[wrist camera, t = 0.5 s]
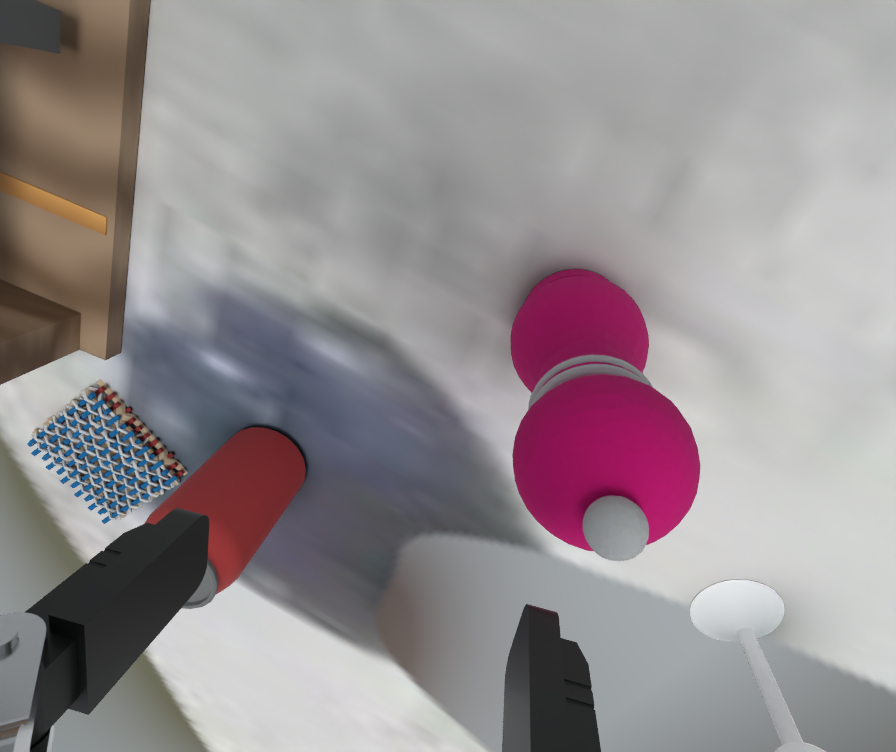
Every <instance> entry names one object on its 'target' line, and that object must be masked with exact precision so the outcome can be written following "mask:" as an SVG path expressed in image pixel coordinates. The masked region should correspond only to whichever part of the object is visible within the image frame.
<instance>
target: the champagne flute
mask: <svg viewBox="0 0 896 752" xmlns="http://www.w3.org/2000/svg"><path fill="white" fill-rule="evenodd" d="M784 613H785V609H784V604H783V601H782V599H781V597H780V596H779V595H778V594H777V593H776V592H775V591H774V590H773V589H771V588H770V587H768V586H766V585H764V584H761V583H758V582H754V581H749V580H728V581H723V582H719V583H716V584H714V585H711V586H709V587H707V588H706V589H704V590H703V591H701V592H700V593H699V594H698V595H697V596H696V597H695V599H694V600H693V602H692V604H691V608H690V617H691V620H692V622H693V624H694V625H695V627H696V628H697V629H698V630H699V631H701V632H702V633H703V634H705V635H707V636H708V637H710V638H713V639H716V640H720V641H725V642H740V643H741V646H742V648H743V650H744V653H745V655H746V658H747V660H748V663H749V665H750V667H751V670H752V672H753V675H754V677H755V680H756V682H757V684H758V687H759V689H760V692H761V694H762V697H763V699H764V701H765V704H766V706H767V709H768V711H769V714H770V716H771V719H772V721H773V723H774V726H775V728H776V730H777V733H778V735H779V738H780V740H781V743H782V746H780V747H779V748H777V749H776V750H775V752H826V751H824V750H822V749H820V748H818V747H816V746H814V745H811V744H808V743H804V742H803V740H802V738H801V736H800V734H799V731H798V729H797V727H796V725H795V723H794V720H793V718H792V716H791V714H790V711H789V709H788V707H787V705H786V702H785V700H784V698H783V696H782V694H781V691H780V689H779V687H778V684H777V682H776V680H775V678H774V675H773V673H772V671H771V669H770V667H769V664H768V662H767V660H766V658H765V655H764V653H763V651H762V649H761V647H760V644H759V642H758V640H757V639H758V638H761V637H763V636H765V635H767V634H769V633H771V632H772V631H773V630H775V629H776V628H777V626H778V625H779V624H780V623H781V621H782V619H783V617H784Z"/></svg>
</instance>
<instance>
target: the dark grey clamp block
mask: <svg viewBox="0 0 896 752" xmlns="http://www.w3.org/2000/svg"><path fill="white" fill-rule="evenodd" d="M60 40H61V11H60V10H57V9H55V8H53V7H50V6H48V5H46V4H43V3H41V2H39V1H36V0H0V42H1V43H6V44H11V45H16V46H22V47H27V48H32V49H37V50H42V51H47V52H52V53H57V54H60Z"/></svg>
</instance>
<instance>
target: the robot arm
mask: <svg viewBox="0 0 896 752" xmlns="http://www.w3.org/2000/svg"><path fill="white" fill-rule="evenodd" d="M209 524H210V523H209V518H208V516H206V515H203V514H199V513H196V512H192V511H188V510H185V509H181V508H175V509H173V510H172V511H171V512H169V513H168V514H167V515H166V516H165V517H163V518H162V519H161V520H160V521H159V522H158V523H156V524H155V525H154V524H151V523H146V524H143V525H141V526H139V527H137V528H134V529H132V530H130V531H128V532H125V533H123V534H122V535H121V536H120V537H118V538H117V539H116V540H115V541H113V542H112V543H111V544H110V545H108V546H107V547H106V548H105V550H104V551H101V552H100V553H98V554H97V555H96V556H95V557H93V558H92V559H91V560H90V562H89V563H88V564H85V565H83V566H82V567H81V568H80V569H79V570H77V571H76V572H75V573H73V574H72V575H71V576H70V577H69V578H67V579H66V580H65V581H63V582H62V583H61V584H60V585H59V586H57V587H56V588H55V589H53V590H52V591H51V592H50V593H48V594H47V595H46V596H45V597H43V598H42V599H41V600H40V601H38V602H37V603H36V604H35V605H33V606H32V607H31V608H30V609H28V610H27V611H26V612H24V613H23V612H16V613H15V612H14V613H7V614H3V615H0V752H51V750H52V743H53V737H54V723H55V722H56V721H57V720H58V719H59V718H60V717H61V716H62V715H63V713H64V712H65V711H66V710H67V709H72V710H75V711H79V712H81V713H85V714H90V713H91V711H92V710H93V709H94V708H95V707H96V706H97V705H98V703H99V702H100V701H101V700H102V699H103V698H104V696H105V695H106V694H107V693H108V692H109V690H111V688H112V687H113V686H114V685H115V684H116V683H117V681H118V680H119V679H120V678H121V677H122V676H123V675H124V673H125V672H126V671H127V670H128V669H129V668H130V666H131V665H132V664H133V663H134V662H135V661H136V660H137V658H138V657H139V656H140V655H141V654H142V653H143V652H144V650H145V649H146V648H147V647H148V646H149V645H150V643H151V642H152V641H153V640H154V639H155V638H156V637H157V635H158V634H159V633H160V632H161V631H162V630H163V628H164V627H165V626H166V625H167V624H168V623H169V622H170V620H171V619H172V618H173V617H174V616H175V615H176V613H177V612H178V611H179V610H180V609H181V608H182V607H183V605H184V604H185V603H186V602H187V601H188V600H189V598H190V597H191V596H192V595H193V594H194V593H195V591H196V590H197V589H198V587H199V586H200V584H201V582H202V580H203V578H204V575H205V572H206V569H207V560H208V542H209ZM502 752H601V748H600V742H599V735H598V728H597V721H596V714H595V710H594V700H593V693H592V691H591V680H590V673H589V666H588V663H587V661H586V659H585V657H584V656H583V654H582V652H581V650H580V648H579V646H578V644H577V643H576V642H573V641H569V640H565V639H562V638H560V627H559V617H558V613H557V612H554V611H550V610H547V609H543V608H539V607H536V606H532V605H528V604H526V605H525V607H524V610H523V613H522V616H521V619H520V622H519V625H518V628H517V631H516V634H515V637H514V640H513V643H512V647H511V649H510V653H509V657H508V662H507V667H506V674H505V692H504V718H503V743H502Z"/></svg>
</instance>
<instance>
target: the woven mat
mask: <svg viewBox="0 0 896 752" xmlns="http://www.w3.org/2000/svg"><path fill="white" fill-rule="evenodd" d="M96 383H97V384H98V385H99V386H100V388H93V387H88V388H86V389H85V390H82V391H81V392H82V394H80V395H81V396H80V399H81V401H78V400H73V399H72V400H71V402H70V404H67V405H66V406H65V407H67V408H68V412H67V411H66V409H64V410H63V413H62V412H57V414H59V415H61V417H60V418H59V419H57V418H56V417H55V415H54V416H52V417H50V418H48V421H47V422H45V423H44V424H45V425H44V430H41V429H34V431H33V435H31V436H30V437H31V438H33V439H32V440H30V441H29V443H28V445H29V446H33V445H34V444H36V443H37V446H38V448H37V449H36V450H34V451H33V452H32V453H31V454H33V455H34V456H35V455H37V454H38V453H40V452H41V451H45V452H48V453H47V454H45V455H44V456H43V457H42V459H43V460H44V461H45V460H47V459H49V458H50V457H52V461H53V462H52V463H50V464H49V465H48V466H46V468H47V469H48V470H50V469H51V468H53V467H54V466H56V465H58V466H62V468H61V469H59V470H58V471H57V473H58V475H60V474H62V473H63V472H64V471H66V473H67V476H66V477H65V478H63V479H62V480H60V481H61V482H62V483H63V484H64V483H65V482H67V481H68V480H70V479H73V480H77V481H76V482H74V483H73V484H72V485H71V487H72V488H75V487H77V486H78V485H79V484H80V487H81V490H79V491H78V492H77V493H75V494H74V495H75V496H76V497H79V496H80V495H82V494H83V493H87V494H90V495H88V496H87V497H86V498H85V499H84V500H85V501H86V502H87V501H89V500H91V499H94V503H93V504H92V505H91V506H89V507H88V509H90V510H93V509H94V508H95V507H97V506H100V507H103V508H102V509H101V510H99V511H98V513H99V514H100V515H101V514H103V513H106V512H108V515H109V516H108V517H106V518H105V519H103V520H102V522H103V523H104V524H105V523H107V522H108V521H110V520H111V519H115V520H120V519H121V518H124V517H125V515H126V513H125V512H124V511H127V510H128V511H129V513H132V509H138V508H140V507H142V503H141V501H143V502H144V503H146V502H149V501H152V497H153V498H154V497H158V495H163V494H164V489H168V490H170V489H171V488H173V487H175V486H174V485H178V484H180V480H179V476H181V475H186V474H187V473H188V472H187V471H186V470H185V468H184V467H183V466H182V465H181V464H180V463H179V462H178V461H177V460H176V459H175V458H171V457H173V456H174V455H173V454H172V453H169V454H168V450H167V449H166V448H165V447H164V446H163V445H162V444H161V443H160V442H159V441H158V439H157V438H156V437H155V436H154V435H153V434H152V433H151V432H150V431H149V430H148V429H147V428H146V427H145V426H144V425H143V423H142V422H141V421H140V420H139V419H138V418H137V417H136V416H135V415H134V414H132V413H130V412H131V411H132V410H131V409H130V408H129V407H128V408H127V409H126V405H125V404H124V403H123V402H122V401H121V400H120V399H119V398H118V397H117V396H116V394H115V393H114V392H113V391H112V390H111V389H110V388H109V387H108V386H107V385H106V384H105V383H104V382H103V381H102V380H101V379H100V380H99V381H97V382H96ZM103 392H105V393H106V394H107V395H108V396H107V397H106V398H104V397H103V396H102V395H103ZM110 400H112V401H113V402H114V403H115V404H114V405H111V404H110V403H109V401H110ZM85 405H87V407H86V406H85ZM102 406H103V407H104V408H105V409H106V410H104V411H102V408H101V407H102ZM79 410H80V411H82V412H83V413H82V414H81V416H80V414H79V413H78V411H79ZM109 414H110V415H111V416H112V417H113V418H112V417H110V416H108V415H109ZM87 417H88V418H89V421H90V422H89V423H88V422H86V421H84V420H85V419H86V418H87ZM64 422H66V423H67V426H65V425H63V423H64ZM132 423H133V424H134V425H135V426H136V428H135V429H133V427H132V426H131V424H132ZM93 426H95V428H96V430H95V429H94V428H93ZM70 430H72V431H73V432H74V433H72V432H71V431H70ZM109 430H110V431H112V432H110V431H109ZM87 431H88V432H87ZM138 431H141V432H142V433H140V434H138V433H137V432H138ZM100 433H101V434H102V435H103V436H104V437H102V436H101V435H100ZM48 434H51V435H54V436H52V437H50V436H49V435H48ZM115 435H116V437H117V440H116V437H115ZM140 436H141V437H140ZM77 437H79V438H80V439H81V440H82V441H81V440H79V439H78V438H77ZM42 438H43V439H44V440H43V439H42ZM65 438H66V439H65ZM56 440H58V442H59V445H58V444H57V443H56V442H55V441H56ZM96 440H97V441H98V442H96ZM143 440H144V442H143ZM148 441H150V443H149V444H148V443H147V442H148ZM41 443H43V444H42V445H41ZM74 443H75V444H76V445H74ZM121 444H122V445H124V446H122V445H121ZM101 445H102V446H103V447H102V446H101ZM125 446H126V447H125ZM153 446H155V447H156V448H157V449H158V450H156V451H154V450H153V449H152V448H151V447H153ZM51 447H52V448H53V450H52V448H51ZM47 448H48V449H47ZM79 448H80V449H81V450H80V449H79ZM129 451H130V452H131V453H130V452H129ZM57 453H58V454H57ZM111 456H112V457H111ZM56 457H58V458H57V459H56ZM84 457H85V458H84ZM125 458H126V459H125ZM61 461H62V463H63V464H62V463H60V462H61ZM103 461H104V462H103ZM66 462H67V463H68V464H66ZM80 464H83V465H82V466H81V465H80ZM107 465H108V466H107ZM159 467H160V468H161V469H163V470H162V471H160V468H159ZM86 468H87V469H88V471H87V470H86ZM174 468H175V469H177V470H178V472H177V473H175V472H174V471H173V470H172V469H174ZM139 471H140V472H139ZM129 474H130V475H131V476H130V475H129ZM151 474H152V475H154V476H152V475H151ZM166 474H168V475H169V476H170V477H169V478H168V477H166V476H164V475H166ZM107 477H108V478H107ZM144 477H145V478H144ZM94 479H95V480H94ZM158 479H159V483H157V480H158ZM85 480H86V481H87V482H88V483H87V482H85ZM98 483H99V484H98ZM138 483H139V484H138ZM84 484H85V485H86V486H85V487H84ZM166 485H171V487H168V486H166ZM89 489H90V491H88V490H89ZM94 489H95V490H96V491H95V490H94ZM143 489H145V490H143ZM120 491H122V492H120ZM98 494H100V495H101V496H100V495H98ZM98 498H100V499H98ZM147 498H149V500H148V499H147ZM126 499H127V500H126ZM130 500H131V501H130ZM102 503H104V505H103V504H102ZM108 503H109V504H108ZM118 504H120V505H121V507H119V505H118ZM117 518H118V519H117Z"/></svg>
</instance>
